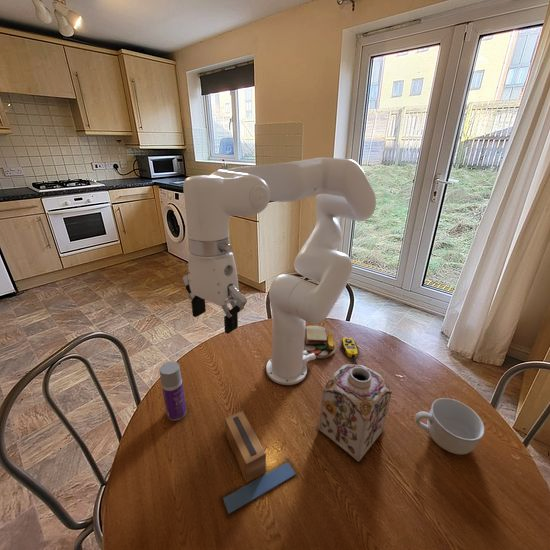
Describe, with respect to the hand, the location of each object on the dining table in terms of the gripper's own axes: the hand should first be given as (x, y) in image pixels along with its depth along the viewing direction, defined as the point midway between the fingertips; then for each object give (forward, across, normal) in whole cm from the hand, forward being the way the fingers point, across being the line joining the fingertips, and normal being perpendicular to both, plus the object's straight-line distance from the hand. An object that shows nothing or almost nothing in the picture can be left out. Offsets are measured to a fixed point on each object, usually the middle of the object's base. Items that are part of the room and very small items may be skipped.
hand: (214, 321), depth 62 cm
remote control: (+29, -17, -44) cm, 55 cm away
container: (+29, +10, +6) cm, 31 cm away
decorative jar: (+29, -27, -17) cm, 43 cm away
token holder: (+29, -11, +3) cm, 31 cm away
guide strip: (+29, -18, +6) cm, 35 cm away
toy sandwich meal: (+29, -5, -40) cm, 50 cm away
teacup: (+29, -46, -28) cm, 61 cm away
